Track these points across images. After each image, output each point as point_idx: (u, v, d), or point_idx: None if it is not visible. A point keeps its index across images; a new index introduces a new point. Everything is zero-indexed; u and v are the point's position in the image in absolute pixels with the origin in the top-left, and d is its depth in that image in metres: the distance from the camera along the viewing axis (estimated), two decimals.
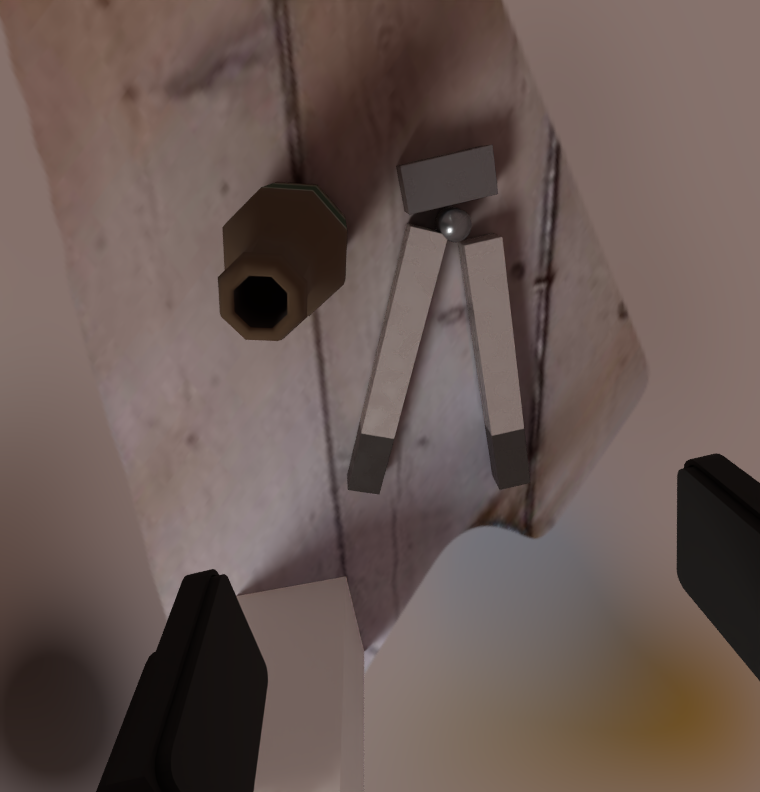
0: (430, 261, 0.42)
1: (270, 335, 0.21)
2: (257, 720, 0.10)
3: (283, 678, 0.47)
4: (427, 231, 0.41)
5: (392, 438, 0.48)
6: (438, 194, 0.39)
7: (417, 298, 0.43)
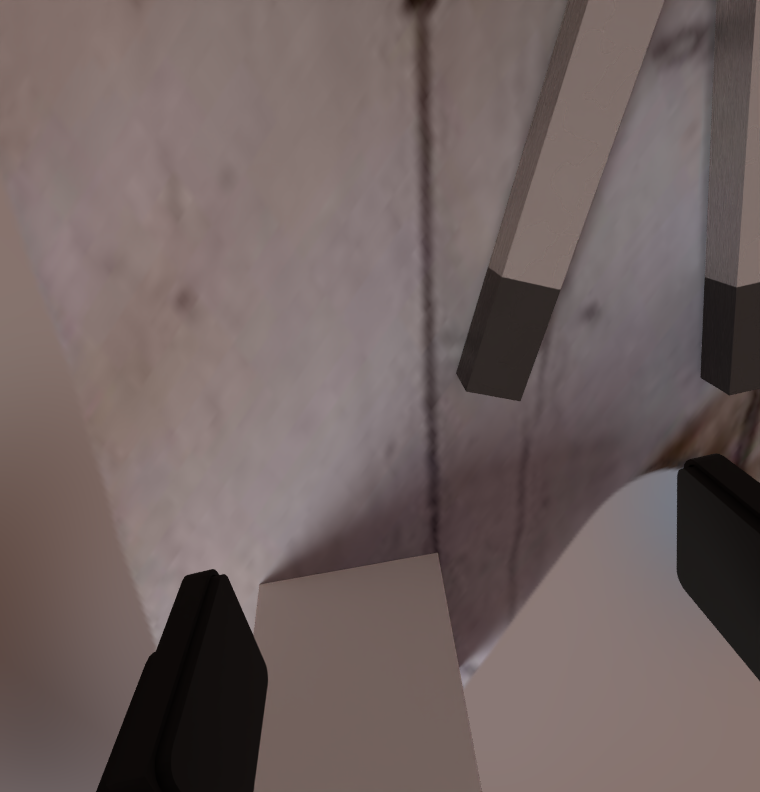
0: None
1: None
2: (257, 720, 0.10)
3: (356, 734, 0.25)
4: None
5: (557, 288, 0.26)
6: None
7: None
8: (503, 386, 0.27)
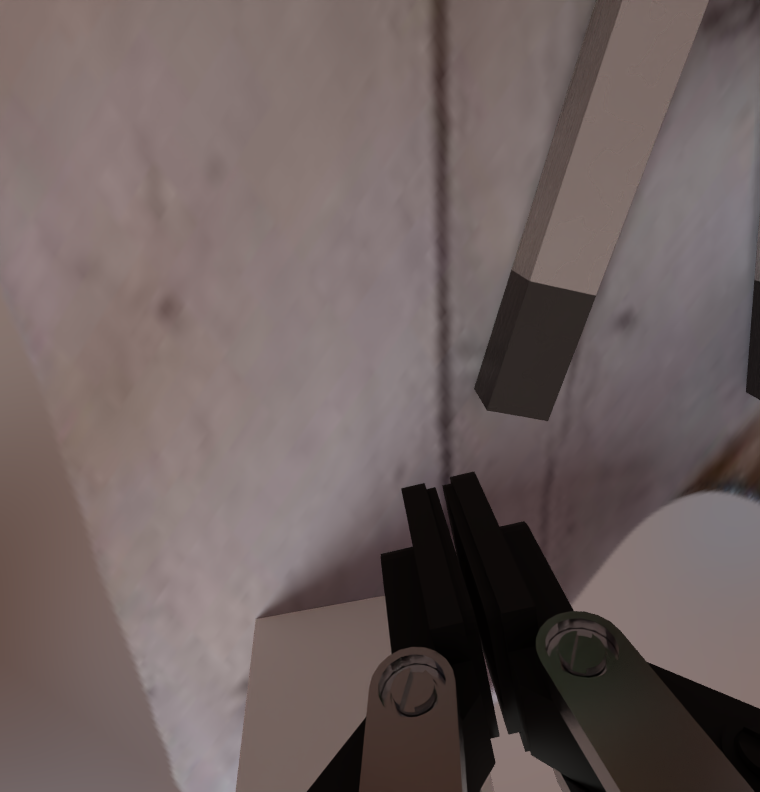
0: None
1: None
2: None
3: None
4: None
5: (592, 294, 0.22)
6: None
7: None
8: (529, 404, 0.24)
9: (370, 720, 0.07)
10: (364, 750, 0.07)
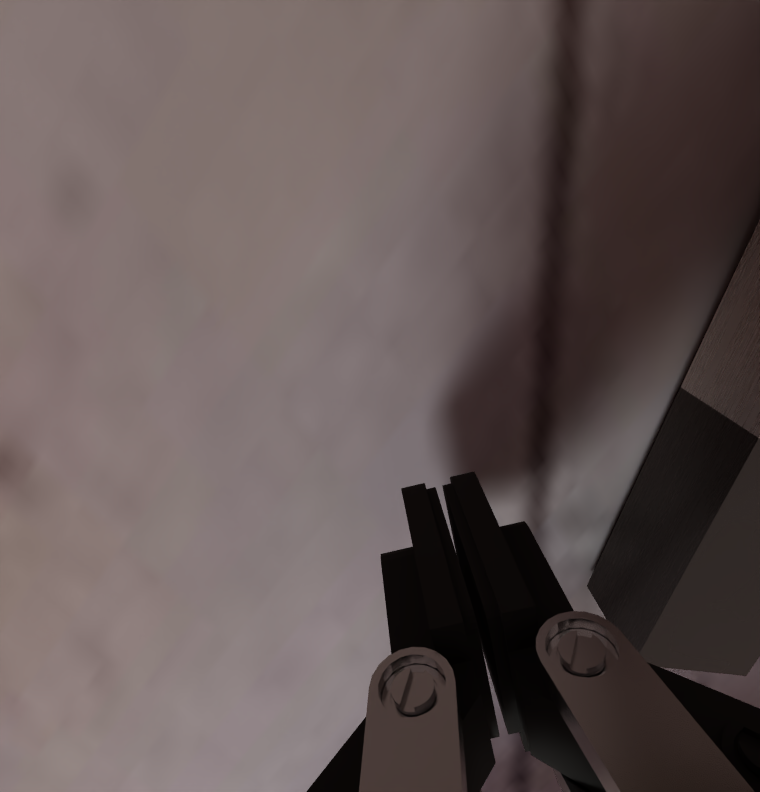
0: None
1: None
2: None
3: None
4: None
5: None
6: None
7: None
8: (716, 652, 0.12)
9: (370, 720, 0.07)
10: (364, 750, 0.07)
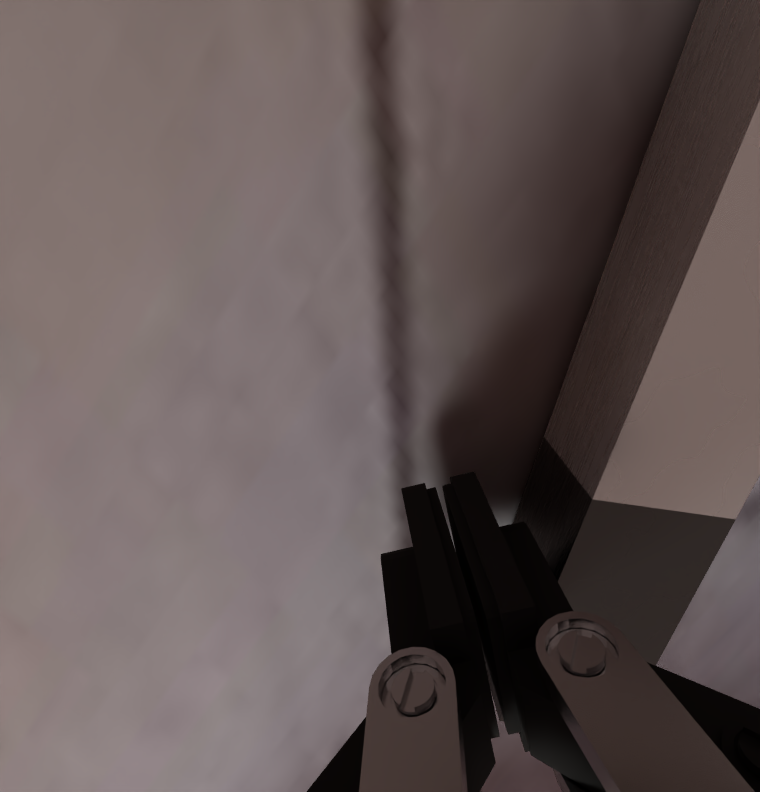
0: None
1: None
2: None
3: None
4: None
5: (728, 517, 0.10)
6: None
7: None
8: None
9: (370, 720, 0.07)
10: (364, 750, 0.07)
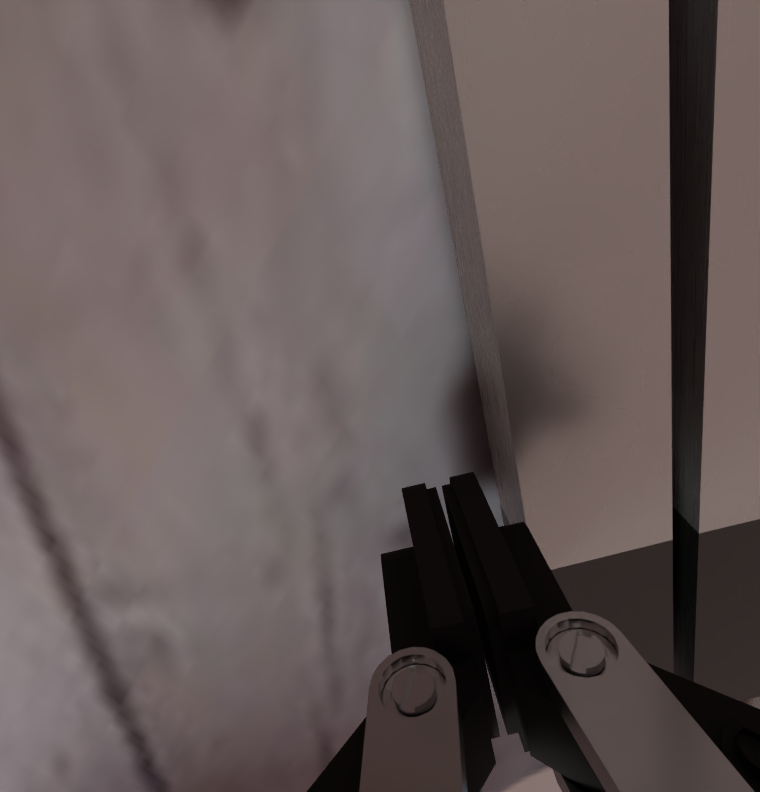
0: None
1: None
2: None
3: None
4: None
5: (665, 540, 0.11)
6: None
7: None
8: None
9: (370, 720, 0.07)
10: (364, 750, 0.07)
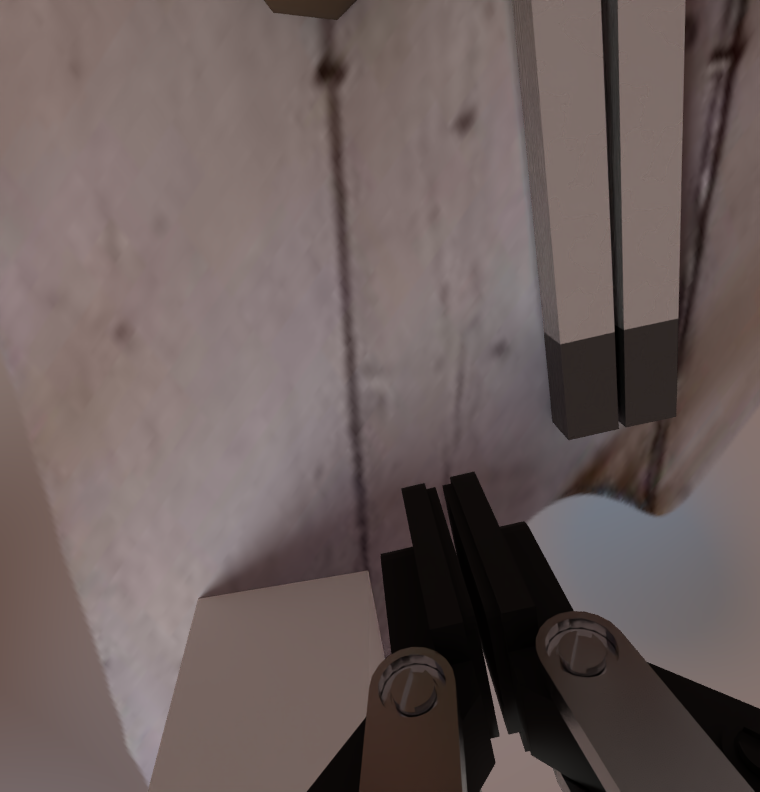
0: None
1: None
2: None
3: (266, 740, 0.27)
4: None
5: (611, 332, 0.29)
6: None
7: (579, 69, 0.24)
8: (598, 423, 0.31)
9: (370, 720, 0.07)
10: (364, 750, 0.07)
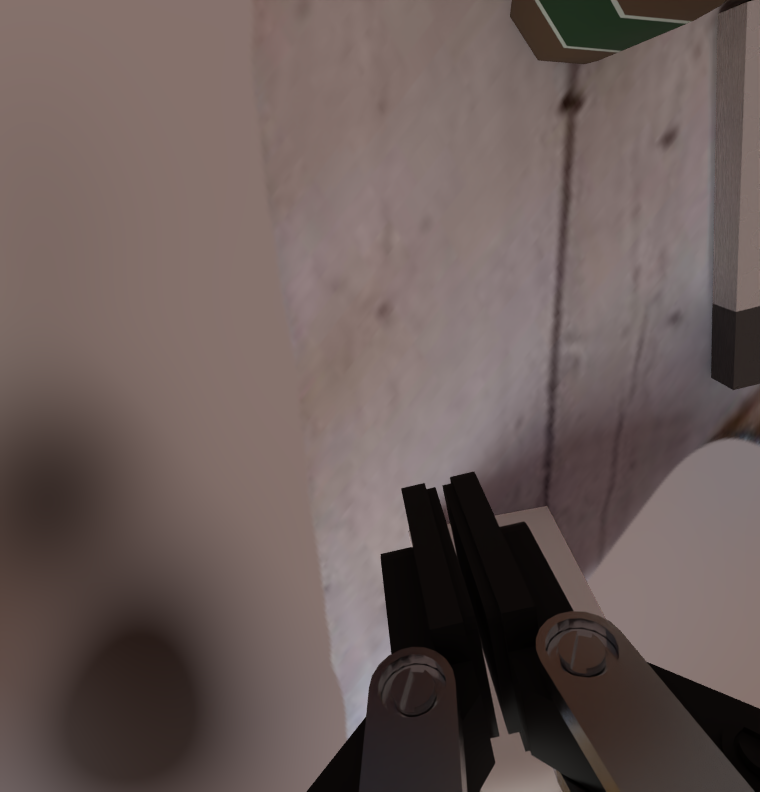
0: None
1: None
2: None
3: None
4: None
5: None
6: None
7: None
8: (758, 375, 0.39)
9: (370, 720, 0.07)
10: (364, 750, 0.07)
